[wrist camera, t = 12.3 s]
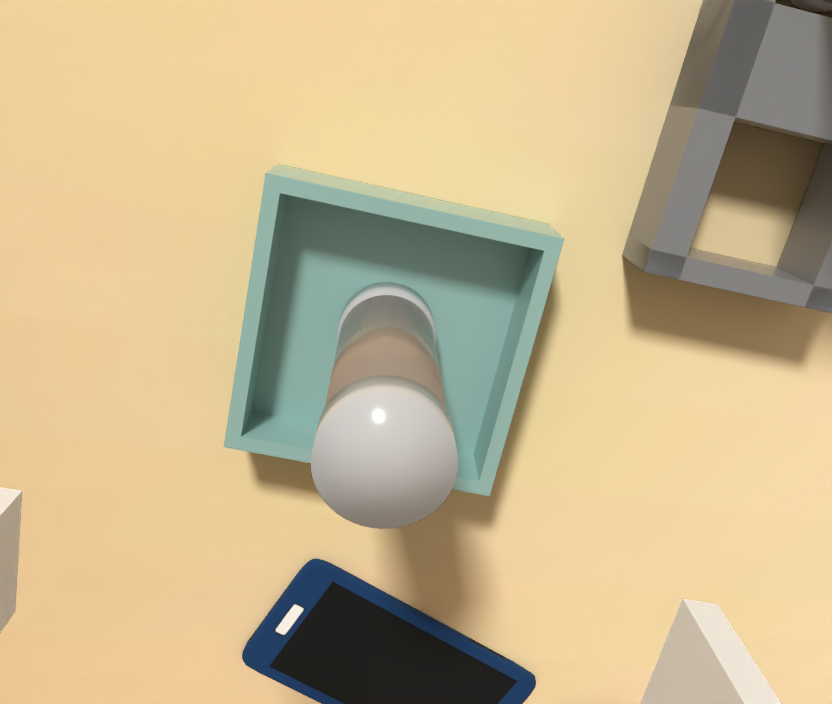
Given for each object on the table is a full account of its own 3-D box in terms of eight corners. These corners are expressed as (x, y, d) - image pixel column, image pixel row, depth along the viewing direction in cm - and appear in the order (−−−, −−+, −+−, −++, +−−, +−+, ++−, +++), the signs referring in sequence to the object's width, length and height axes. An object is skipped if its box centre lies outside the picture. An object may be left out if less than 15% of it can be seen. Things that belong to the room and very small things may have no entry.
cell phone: (313, 548, 36) (311, 557, 36) (541, 671, 39) (543, 682, 39) (238, 651, 38) (235, 662, 38) (460, 762, 41) (461, 773, 41)
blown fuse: (423, 380, 33) (440, 539, 21) (331, 362, 32) (299, 515, 21) (443, 292, 31) (473, 412, 20) (348, 273, 31) (324, 384, 20)
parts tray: (481, 461, 35) (489, 496, 32) (238, 415, 34) (223, 447, 31) (548, 223, 31) (564, 238, 28) (278, 164, 30) (265, 172, 27)
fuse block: (799, 294, 32) (837, 314, 29) (622, 255, 32) (644, 272, 29) (969, -126, 27) (1035, -151, 24) (762, -185, 26) (806, -217, 23)
